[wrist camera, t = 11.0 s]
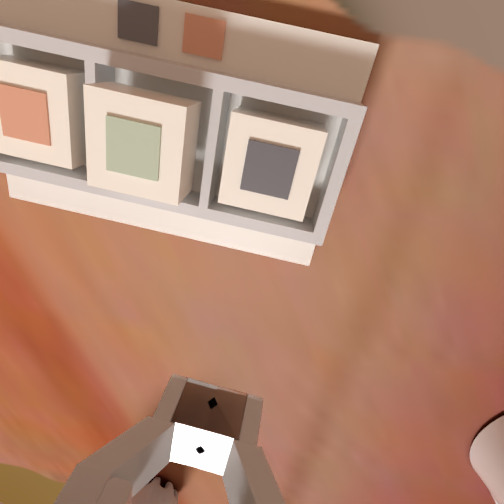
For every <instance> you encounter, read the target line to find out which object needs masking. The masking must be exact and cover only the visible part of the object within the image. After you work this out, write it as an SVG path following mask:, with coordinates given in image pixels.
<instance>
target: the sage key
mask: <svg viewBox="0 0 504 504" xmlns="http://www.w3.org/2000/svg"><path fill="white" fill-rule="evenodd" d="M83 93H84V117H85V141H86V165H87V185H89V186H93V187H98V188H102V189H106V190H111V191H115V192H119V193H124V194H128V195H132V196H137V197H141V198H145V199H150V200H154V201H159V202H163V203H167V204H172V205H176V206H178V205H179V204H180V203H181V202H182V200H183V199H184V198H185V197H186V196H187V195H188V194H189V192H190V191H191V190H192V183H193V174H194V165H195V156H196V147H197V138H198V129H199V120H200V111H201V101H197V100H192V99H188V98H183V97H179V96H174V95H170V94H165V93H161V92H156V91H152V90H147V89H143V88H138V87H134V86H129V85H125V84H121V83H116V82H112V81H109V82H99V83H89V84H83Z"/></svg>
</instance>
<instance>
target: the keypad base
mask: <svg viewBox="0 0 504 504" xmlns="http://www.w3.org/2000/svg"><path fill="white" fill-rule="evenodd" d="M378 47H379V44H376V43H371V42H366V41H362V40H357V39H353V38H348V37H343V36H339V35H334V34H330V33H325V32H320V31H316V30H311V29H307V28H302V27H297V26H293V25H288V24H284V23H279V22H274V21H270V20H265V19H261V18H256V17H251V16H247V15H242V14H238V13H233V12H228V11H224V10H219V9H215V8H210V7H205V6H201V5H196V4H192V3H187V2H182V1H178V0H0V54H4V55H14V56H19V57H23V58H28V59H32V60H37V61H41V62H46V63H50V64H55V65H59V66H64V67H68V68H73V69H77V70H82V71H85V84H89V83H99V82H109V81H112V82H116V83H121V84H125V85H129V86H134V87H138V88H143V89H147V90H152V91H156V92H161V93H165V94H170V95H174V96H179V97H183V98H188V99H192V100H197V101H201V111H200V120H199V129H198V138H197V147H196V156H195V165H194V174H193V183H192V190H191V191H190V192H189V194H188V195H187V196H186V197H185V198H184V199H183V200H182V202H181V203H180V204H179V205H178V206H176V205H172V204H167V203H163V202H159V201H154V200H150V199H145V198H141V197H137V196H132V195H128V194H124V193H119V192H115V191H111V190H106V189H102V188H98V187H93V186H89V185H87V165H86V163H85V164H83V165H81V166H79V167H77V168H74V169H67V168H63V167H59V166H54V165H50V164H45V163H41V162H37V161H32V160H28V159H24V158H19V157H15V156H10V155H6V154H2V153H0V172H1V173H6V175H7V181H8V188H9V194H10V197H12V198H17V199H21V200H25V201H30V202H34V203H38V204H43V205H47V206H51V207H56V208H60V209H64V210H69V211H73V212H77V213H82V214H86V215H90V216H95V217H99V218H103V219H108V220H112V221H116V222H121V223H125V224H129V225H134V226H138V227H142V228H147V229H151V230H155V231H160V232H164V233H168V234H173V235H177V236H181V237H186V238H190V239H194V240H199V241H203V242H207V243H212V244H216V245H220V246H225V247H229V248H233V249H238V250H242V251H246V252H251V253H255V254H259V255H264V256H268V257H272V258H277V259H281V260H285V261H290V262H294V263H298V264H303V265H307V266H309V264H310V261H311V258H312V255H313V252H314V248H315V245H319V246H322V244H323V241H324V238H325V235H326V232H327V229H328V226H329V223H330V220H331V217H332V214H333V211H334V208H335V204H336V201H337V198H338V195H339V192H340V189H341V186H342V183H343V180H344V177H345V174H346V171H347V168H348V165H349V162H350V159H351V156H352V153H353V150H354V147H355V144H356V141H357V138H358V135H359V131H360V128H361V125H362V122H363V119H364V116H365V113H366V110H367V106H365V105H364V104H362V103H361V101H362V98H363V95H364V91H365V88H366V85H367V82H368V79H369V76H370V73H371V69H372V66H373V63H374V60H375V57H376V54H377V51H378ZM238 106H244V107H248V108H253V109H257V110H262V111H266V112H271V113H275V114H280V115H284V116H289V117H293V118H298V119H302V120H307V121H311V122H316V123H320V124H325V126H326V129H327V131H328V135H327V138H326V142H325V145H324V149H323V152H322V156H321V159H320V163H319V166H318V170H317V173H316V177H315V180H314V184H313V187H312V191H311V194H310V198H309V201H308V205H307V208H306V212H305V215H304V219H303V222H301V221H296V220H292V219H288V218H283V217H279V216H274V215H270V214H266V213H261V212H257V211H253V210H248V209H244V208H239V207H235V206H231V205H226V204H222V203H217V202H218V196H219V189H220V183H221V176H222V169H223V163H224V156H225V150H226V143H227V136H228V130H229V123H230V117H231V111H233V110H234V109H235V108H237V107H238Z"/></svg>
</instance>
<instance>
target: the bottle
mask: <svg viewBox="0 0 504 504" xmlns="http://www.w3.org/2000/svg"><path fill="white" fill-rule="evenodd" d="M160 480H161V479H160V477H155V478H154V479H153V481H152V482H151V483H150V484H149V482H150V481H149V482H148V483H147V484H146V485H145V486H144V487H143V488H142V489H141V490H140V491H139V492H138V493H137V494H136V495H135V496H134V497H132V500H131V504H178V493H177V491H176V490H175V489H173V484H172V483H171V482H167V483H166V485H165V487H164V488H163V487H161V486H160Z"/></svg>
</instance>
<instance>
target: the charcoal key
mask: <svg viewBox="0 0 504 504" xmlns="http://www.w3.org/2000/svg"><path fill="white" fill-rule="evenodd" d="M327 135H328V131H327V129H326V126H325V124H320V123H316V122H311V121H307V120H302V119H298V118H293V117H289V116H284V115H280V114H275V113H271V112H266V111H262V110H257V109H253V108H248V107H244V106H238V107H237V108H235V109H234V110H233V111H231V117H230V123H229V130H228V136H227V143H226V150H225V156H224V163H223V169H222V176H221V183H220V189H219V196H218V202H217V203H222V204H226V205H231V206H235V207H239V208H244V209H248V210H253V211H257V212H261V213H266V214H270V215H274V216H279V217H283V218H288V219H292V220H296V221H301V222H303V219H304V215H305V212H306V208H307V205H308V201H309V198H310V194H311V191H312V187H313V184H314V180H315V177H316V173H317V170H318V166H319V163H320V159H321V156H322V152H323V149H324V145H325V142H326V138H327Z"/></svg>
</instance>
